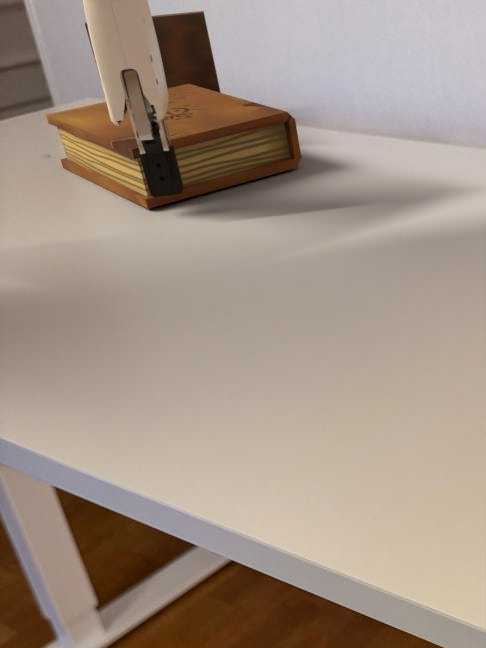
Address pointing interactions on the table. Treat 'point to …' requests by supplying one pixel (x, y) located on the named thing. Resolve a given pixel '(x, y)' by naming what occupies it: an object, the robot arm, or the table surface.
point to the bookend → (184, 50)
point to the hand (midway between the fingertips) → (167, 192)
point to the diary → (181, 144)
